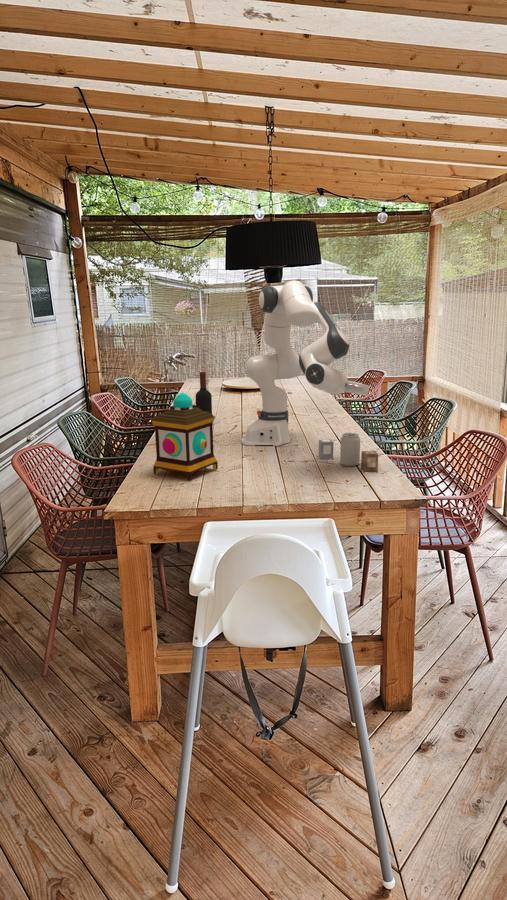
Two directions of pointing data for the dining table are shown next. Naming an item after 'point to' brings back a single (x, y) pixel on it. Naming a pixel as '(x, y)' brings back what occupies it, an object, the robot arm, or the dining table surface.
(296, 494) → the dining table surface
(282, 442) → the robot arm
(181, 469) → the decorative lantern
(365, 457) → the walnut block
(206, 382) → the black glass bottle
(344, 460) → the can
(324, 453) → the slate block
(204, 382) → the wine bottle
